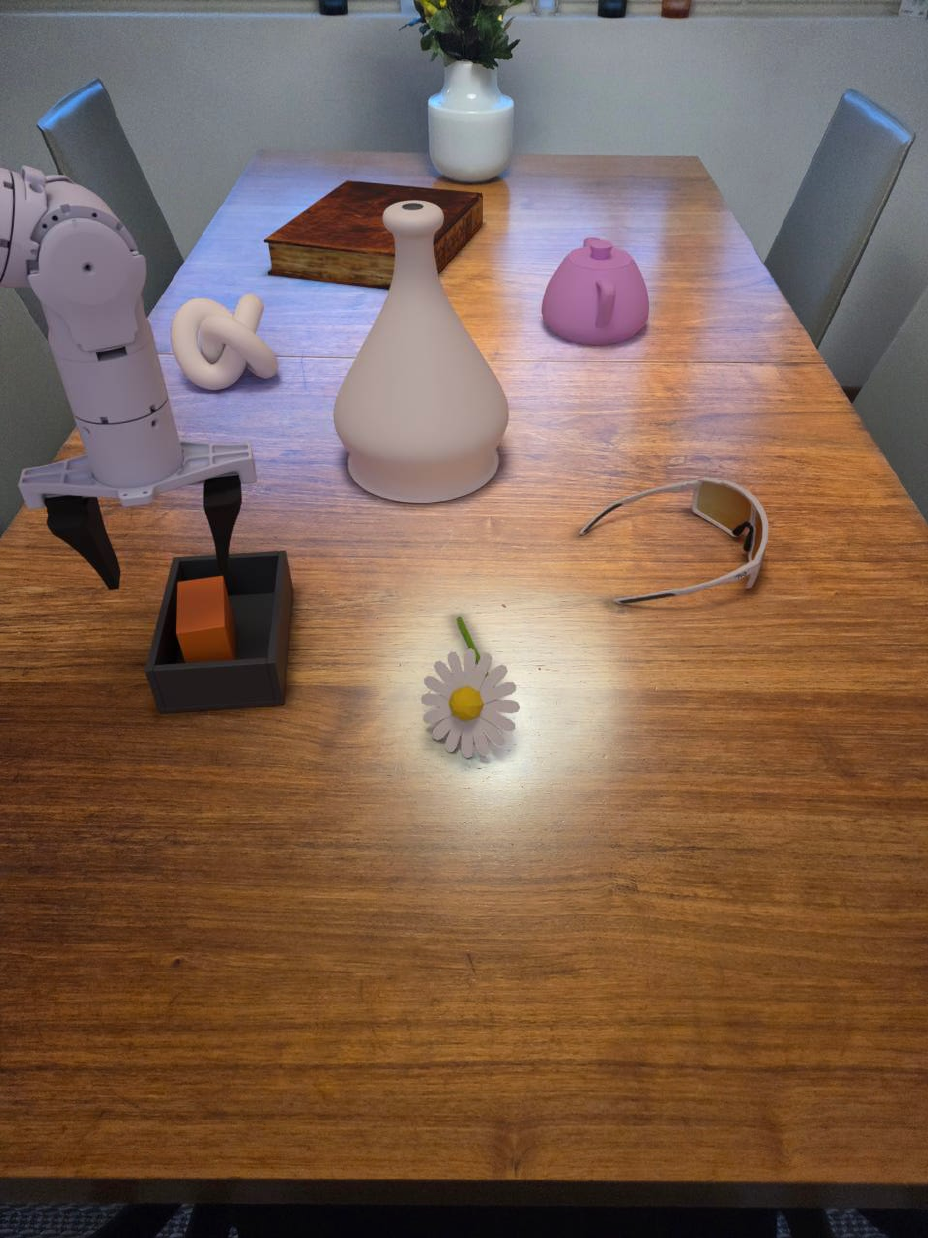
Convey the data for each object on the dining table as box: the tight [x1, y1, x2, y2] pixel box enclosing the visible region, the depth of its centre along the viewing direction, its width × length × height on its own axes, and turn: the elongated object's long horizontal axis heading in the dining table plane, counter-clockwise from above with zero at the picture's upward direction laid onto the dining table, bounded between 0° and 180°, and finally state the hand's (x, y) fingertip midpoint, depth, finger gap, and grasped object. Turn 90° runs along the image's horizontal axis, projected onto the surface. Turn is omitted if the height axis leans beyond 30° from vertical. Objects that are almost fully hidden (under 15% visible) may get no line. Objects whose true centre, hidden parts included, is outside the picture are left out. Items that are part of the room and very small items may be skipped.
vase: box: [332, 201, 510, 504], centre depth 82 cm, size 17×17×25 cm
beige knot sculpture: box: [170, 292, 279, 391], centre depth 102 cm, size 11×12×9 cm
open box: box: [144, 550, 294, 714], centre depth 69 cm, size 9×13×4 cm
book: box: [263, 179, 484, 291], centre depth 135 cm, size 30×24×5 cm
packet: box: [176, 576, 236, 663], centre depth 68 cm, size 4×6×5 cm, turn 13°
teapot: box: [541, 236, 650, 346], centre depth 112 cm, size 14×20×11 cm
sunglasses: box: [578, 476, 770, 605], centre depth 78 cm, size 14×15×5 cm
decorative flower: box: [420, 616, 521, 759], centre depth 65 cm, size 8×6×15 cm
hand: (170, 573), depth 63 cm, fingers open, 7 cm apart
